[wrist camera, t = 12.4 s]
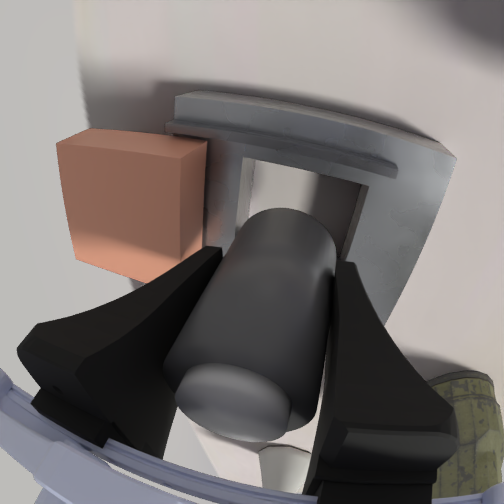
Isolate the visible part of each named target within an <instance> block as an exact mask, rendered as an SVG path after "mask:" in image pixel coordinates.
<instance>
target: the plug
mask: <svg viewBox="0 0 504 504" xmlns="http://www.w3.org/2000/svg"><path fill="white" fill-rule="evenodd" d="M335 267H336V248H335V244H334V241H333V239H332V237H331V235H330V234H329V232H328V231H327V229H326V228H325V227H324V226H323V225H322V224H321V223H320V222H319V221H318V220H316V219H315V218H313V217H312V216H310V215H308V214H306V213H304V212H301V211H298V210H294V209H289V208H273V209H268V210H264V211H261V212H259V213H257V214H255V215H253V216H252V217H250V218H249V219H248V220H247V221H246V222H245V223H244V224H243V226H242V227H241V229H240V230H239V232H238V234H237V235H236V237H235V239H234V240H233V242H232V244H231V246H230V247H229V249H228V251H227V252H226V254H225V256H224V257H223V259H222V261H221V263H220V264H219V266H218V268H217V269H216V271H215V273H214V275H213V276H212V278H211V280H210V281H209V283H208V285H207V287H206V288H205V290H204V292H203V293H202V295H201V297H200V299H199V300H198V302H197V304H196V306H195V307H194V309H193V311H192V313H191V314H190V316H189V318H188V319H187V321H186V323H185V325H184V326H183V328H182V330H181V332H180V333H179V335H178V337H177V339H176V341H175V342H174V344H173V346H172V348H171V349H170V351H169V353H168V355H167V356H166V358H165V360H164V363H163V375H164V378H165V381H166V383H167V384H168V386H169V387H170V389H171V390H172V392H173V393H174V394H175V401H176V403H177V405H178V407H179V408H180V410H181V411H182V412H183V413H184V414H185V415H186V416H187V417H188V418H190V419H191V420H192V421H194V422H195V423H197V424H198V425H200V426H202V427H203V428H205V429H207V430H209V431H212V432H214V433H216V434H219V435H222V436H225V437H228V438H232V439H236V440H241V441H248V442H267V441H272V440H276V439H278V438H280V437H282V436H283V435H284V434H285V433H286V432H288V431H292V430H296V429H298V428H301V427H303V426H305V425H306V424H308V423H309V422H310V421H311V420H312V419H313V417H314V416H315V414H316V411H317V405H318V400H319V394H320V388H321V381H322V375H323V368H324V362H325V355H326V348H327V340H328V332H329V324H330V316H331V307H332V294H333V284H334V275H335Z"/></svg>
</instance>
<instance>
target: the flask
mask: <svg viewBox="0 0 504 504" xmlns="http://www.w3.org/2000/svg"><path fill="white" fill-rule="evenodd" d="M310 459H311V454H310V453H307V452H304V451H301V450H298V449H295V448H292V447H267V448H265V449H263V450H261V451H259V461H260V468H261V475H262V486H263V488H266V489H271V490H277V491H283V492H289V493H295V494H296V493H297V492H298V490H299V489H300V487H301V486H302V484H303V483H304V481H305V480H306V476H307V472H308V468H309V463H310Z"/></svg>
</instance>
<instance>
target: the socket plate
mask: <svg viewBox="0 0 504 504" xmlns="http://www.w3.org/2000/svg"><path fill="white" fill-rule="evenodd" d="M165 132H169V133H173V136H176V137H184V138H191V139H198V140H205V141H207V151H206V167H205V185H204V206H203V230H202V248H203V247H205V246H215V247H222V251H223V257H224V256H225V254H226V252H227V251H228V249H229V247H230V246H231V244H232V242H233V240H234V239H235V237H236V235H237V234H238V232H239V230H240V229H241V227H242V226H243V224H244V223H245V222H246V221H247V220H248V214H249V206H250V198H251V190H252V182H253V174H254V166H255V159H256V160H261V161H266V162H271V163H275V164H280V165H285V166H290V167H294V168H299V169H303V170H307V171H312V172H316V173H320V174H324V175H328V176H332V177H336V178H340V179H344V180H348V181H352V182H356V183H360V184H362V185H361V188H360V192H359V195H358V199H357V202H356V206H355V209H354V212H353V216H352V219H351V222H350V226H349V229H348V232H347V236H346V239H345V242H344V245H343V248H342V251H341V254H340V257H336V260H339V261H348V262H354V263H355V264H356V265H357V269H358V272H359V275H360V278H361V280H362V283H363V285H364V288H365V290H366V292H367V295H368V297H369V299H370V301H371V303H372V305H373V307H374V309H375V311H376V313H377V315H378V317H379V318H380V320H381V322H382V324H383V325H385V323H386V322H387V320H388V318H389V316H390V314H391V312H392V310H393V309H394V307H395V305H396V303H397V301H398V299H399V297H400V295H401V293H402V291H403V289H404V287H405V285H406V283H407V281H408V279H409V277H410V275H411V273H412V271H413V268H414V266H415V264H416V262H417V260H418V258H419V255H420V253H421V251H422V249H423V247H424V244H425V242H426V240H427V237H428V235H429V233H430V230H431V228H432V225H433V223H434V220H435V218H436V215H437V213H438V210H439V208H440V205H441V203H442V200H443V197H444V195H445V192H446V189H447V186H448V184H449V181H450V178H451V175H452V172H453V169H454V166H455V163H456V160H457V158H456V157H455V156H454V155H453V154H452V153H451V152H450V151H449V150H448V149H447V148H446V147H444V146H443V145H442V144H441V143H439V142H436V141H433V140H430V139H428V138H425V137H422V136H419V135H416V134H413V133H410V132H407V131H403V130H400V129H397V128H394V127H390V126H387V125H384V124H380V123H377V122H373V121H369V120H366V119H362V118H358V117H354V116H350V115H346V114H342V113H338V112H334V111H330V110H325V109H321V108H316V107H311V106H306V105H301V104H296V103H291V102H285V101H280V100H274V99H267V98H261V97H254V96H247V95H240V94H232V93H223V92H214V91H204V90H197V91H193V92H189V93H186V94H182V95H179V96H175V108H174V119H173V120H171V121H169V122H166V123H165Z"/></svg>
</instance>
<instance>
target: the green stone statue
mask: <svg viewBox="0 0 504 504" xmlns="http://www.w3.org/2000/svg"><path fill="white" fill-rule="evenodd" d="M427 383H428V384H429V385H430V386H431V387H432V388H433V389H434V390H435V391H436V392H437V393H438V394H439V395H440V396H441V397H442V398H444V399H445V400H446V401H447V402H448V403H449V404H450V405H451V406H452V407H453V408H454V410H455V414H456V418H457V423H458V428H459V438H460V445H459V449H458V450H457V451H456V452H455V454H454V455H453V456H452V457H451V458H450V459H449V460H447V461H446V462H445V463H444V464H443V465H441V466H440V467H439V468H438V469H437V481H436V483H434V484H433V486H432V499H438V498H449V497H458V496H466V495H473V494H479V493H484V492H485V491H486V490H487V489H489V488H490V487H492V486H494V485H496V484H499V483H502V473H501V467H502V463H503V459H504V429H503V423H502V417H501V411H500V405H499V404H498V403H497V401H496V398H495V393H494V385H493V381H492V380H491V378H490V377H489V376H488V375H486V374H483V373H481V372H476V371H462V372H456V373H449V374H446V375H443V376H440V377H437V378H434V379H432V380H430V381H428V382H427Z"/></svg>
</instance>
